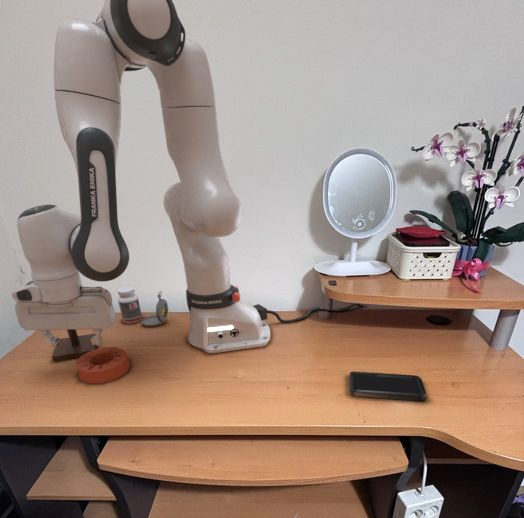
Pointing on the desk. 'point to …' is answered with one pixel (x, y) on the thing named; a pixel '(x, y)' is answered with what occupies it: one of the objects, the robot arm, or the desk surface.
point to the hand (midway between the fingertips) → (76, 345)
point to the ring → (102, 365)
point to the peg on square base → (73, 346)
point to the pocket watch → (157, 314)
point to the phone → (387, 386)
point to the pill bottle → (129, 305)
